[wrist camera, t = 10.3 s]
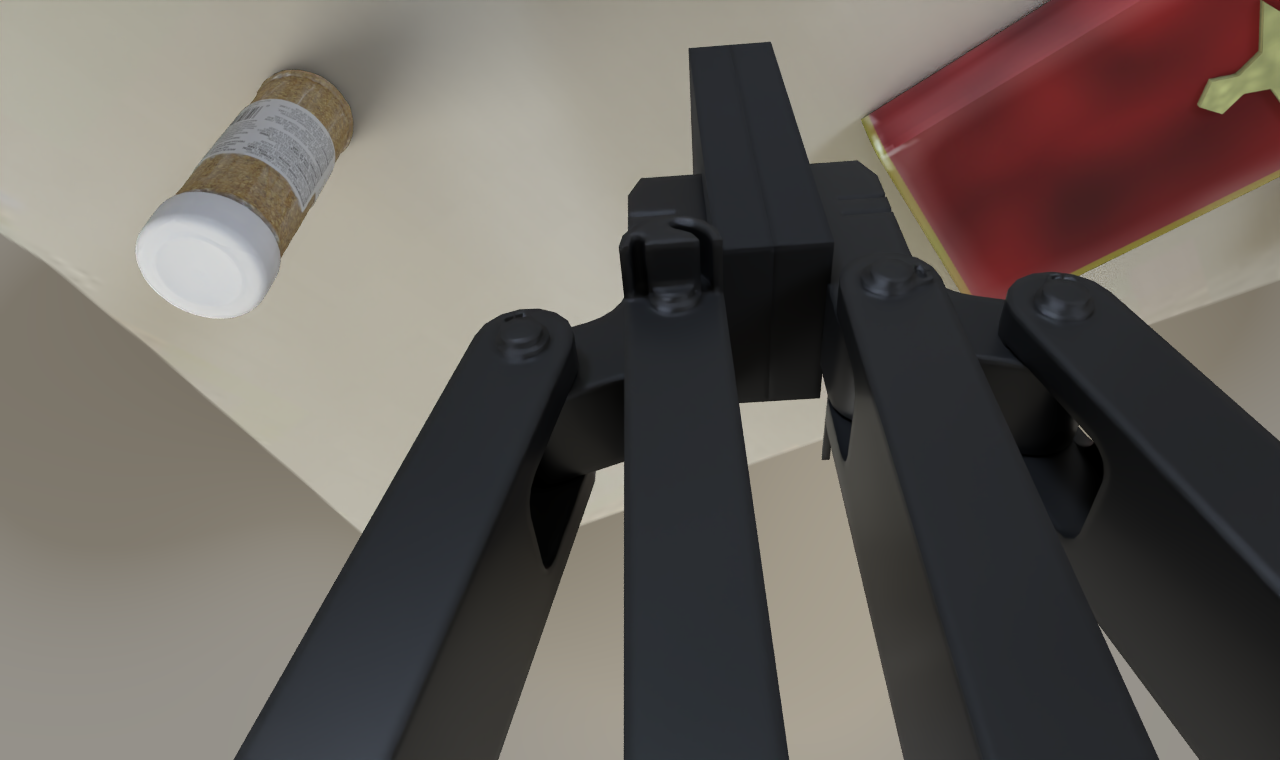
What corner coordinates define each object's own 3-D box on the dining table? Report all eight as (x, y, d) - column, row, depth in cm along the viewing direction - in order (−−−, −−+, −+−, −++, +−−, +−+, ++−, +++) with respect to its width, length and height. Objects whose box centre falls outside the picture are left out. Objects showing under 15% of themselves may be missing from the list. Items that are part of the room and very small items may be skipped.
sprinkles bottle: (294, 167, 43) (186, 336, 33) (237, 82, 40) (101, 239, 30) (375, 140, 42) (290, 306, 32) (323, 51, 39) (212, 202, 29)
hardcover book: (857, 112, 41) (875, 154, 38) (1359, -205, 32) (1436, -186, 29) (958, 280, 47) (981, 327, 44) (1400, 51, 39) (1467, 89, 36)
